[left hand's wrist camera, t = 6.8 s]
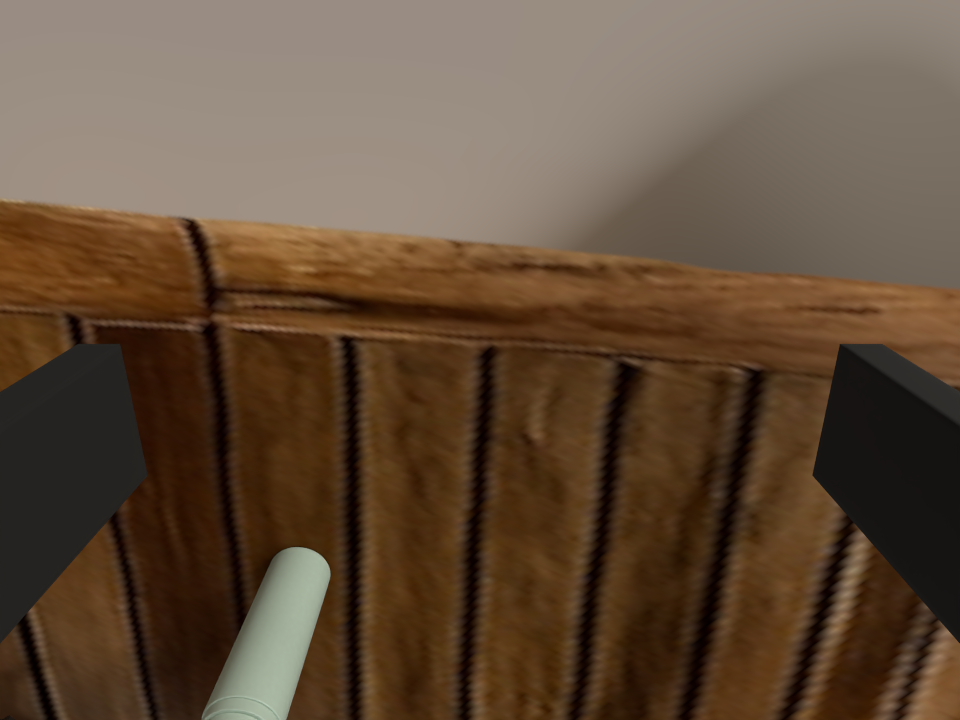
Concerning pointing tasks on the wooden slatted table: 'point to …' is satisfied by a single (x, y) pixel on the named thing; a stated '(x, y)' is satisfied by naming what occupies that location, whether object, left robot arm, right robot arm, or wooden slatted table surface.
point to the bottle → (272, 640)
